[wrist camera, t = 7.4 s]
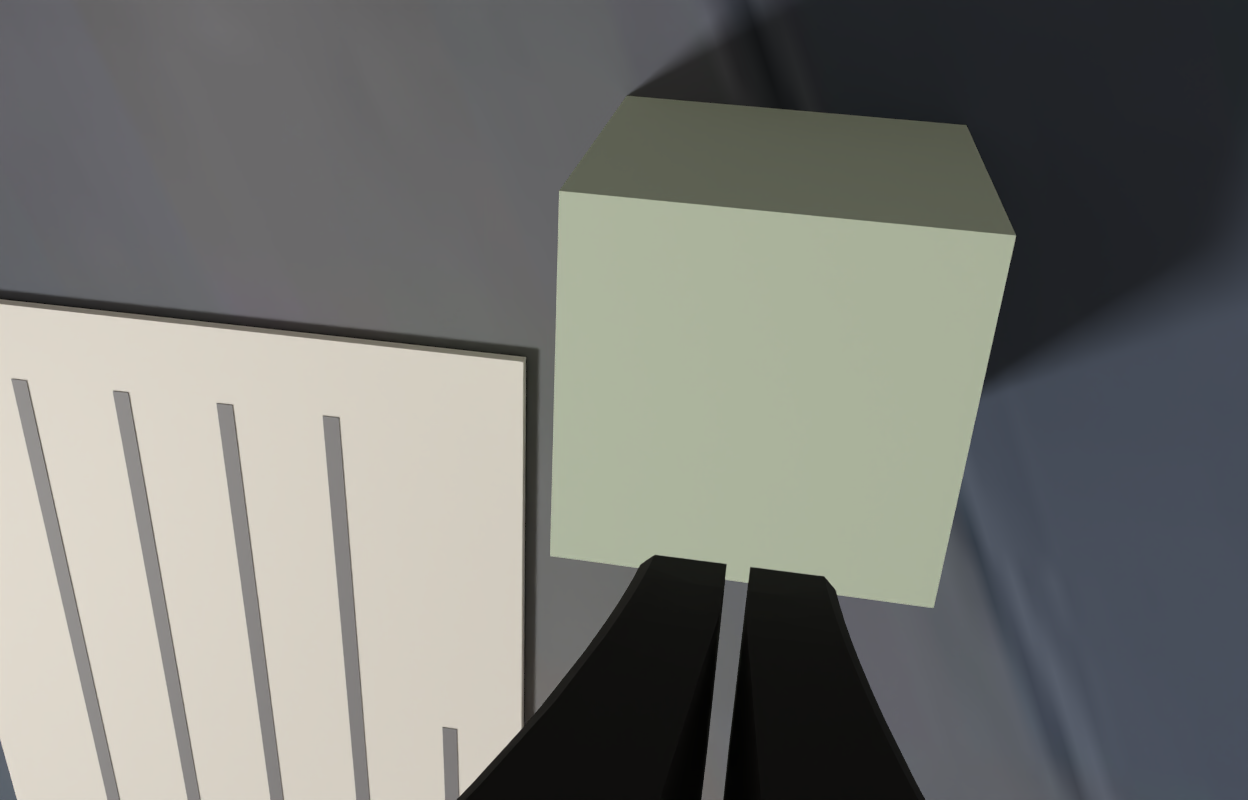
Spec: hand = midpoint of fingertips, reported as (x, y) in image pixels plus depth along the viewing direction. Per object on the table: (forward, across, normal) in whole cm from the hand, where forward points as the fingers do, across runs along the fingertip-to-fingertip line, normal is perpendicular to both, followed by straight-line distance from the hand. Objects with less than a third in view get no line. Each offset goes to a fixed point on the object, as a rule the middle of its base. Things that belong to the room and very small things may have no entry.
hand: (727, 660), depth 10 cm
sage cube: (+10, 0, 0) cm, 10 cm away
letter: (+9, +10, +10) cm, 17 cm away
